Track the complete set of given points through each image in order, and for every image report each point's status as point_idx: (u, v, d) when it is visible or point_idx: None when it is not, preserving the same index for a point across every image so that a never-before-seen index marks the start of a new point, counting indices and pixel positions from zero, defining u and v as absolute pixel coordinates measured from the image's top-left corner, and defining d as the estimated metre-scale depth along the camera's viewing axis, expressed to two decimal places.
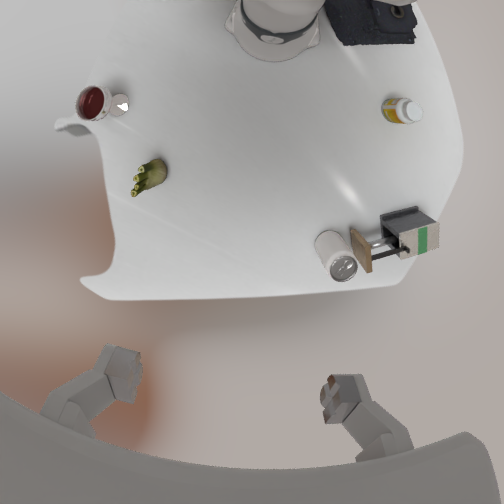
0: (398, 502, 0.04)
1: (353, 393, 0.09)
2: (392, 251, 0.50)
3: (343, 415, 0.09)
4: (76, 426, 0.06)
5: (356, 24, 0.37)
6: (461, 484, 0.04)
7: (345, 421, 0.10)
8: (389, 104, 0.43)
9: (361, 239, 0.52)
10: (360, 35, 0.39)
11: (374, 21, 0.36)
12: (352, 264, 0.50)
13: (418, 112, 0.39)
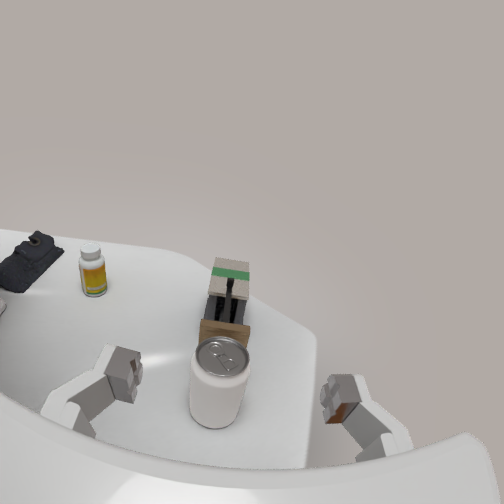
0: (398, 502, 0.04)
1: (353, 393, 0.09)
2: (226, 299, 0.37)
3: (343, 415, 0.09)
4: (76, 426, 0.06)
5: (17, 270, 0.42)
6: (461, 484, 0.04)
7: (345, 421, 0.10)
8: (81, 278, 0.45)
9: None
10: (27, 276, 0.44)
11: (26, 259, 0.46)
12: (220, 343, 0.29)
13: (93, 245, 0.45)
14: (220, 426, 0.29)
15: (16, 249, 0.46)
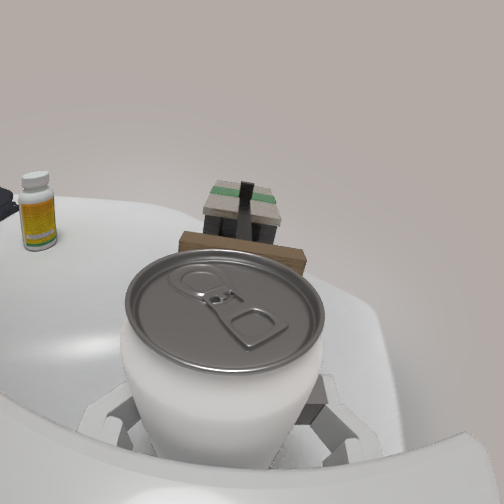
0: (398, 502, 0.04)
1: (319, 394, 0.09)
2: (240, 211, 0.18)
3: (310, 416, 0.09)
4: (119, 441, 0.06)
5: None
6: (461, 484, 0.04)
7: (313, 423, 0.09)
8: (21, 222, 0.25)
9: None
10: None
11: None
12: (220, 268, 0.09)
13: (40, 173, 0.26)
14: None
15: None
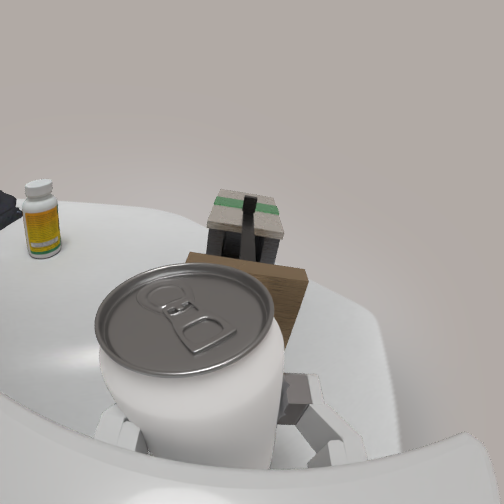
0: (398, 502, 0.04)
1: (303, 394, 0.09)
2: (244, 227, 0.18)
3: (294, 416, 0.09)
4: (137, 446, 0.06)
5: None
6: (461, 484, 0.04)
7: (298, 423, 0.09)
8: (25, 230, 0.26)
9: None
10: None
11: None
12: (184, 281, 0.10)
13: (43, 181, 0.26)
14: None
15: None
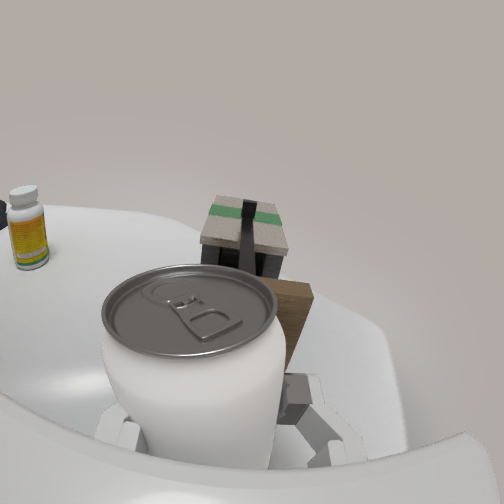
0: (398, 502, 0.04)
1: (303, 394, 0.09)
2: (243, 234, 0.17)
3: (294, 416, 0.09)
4: (137, 446, 0.06)
5: None
6: (461, 484, 0.04)
7: (298, 423, 0.09)
8: None
9: None
10: None
11: None
12: (188, 280, 0.10)
13: (28, 187, 0.23)
14: None
15: None
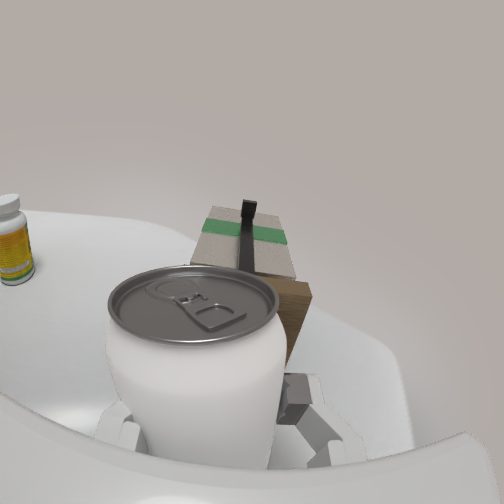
0: (398, 502, 0.04)
1: (303, 394, 0.09)
2: (242, 234, 0.17)
3: (294, 416, 0.09)
4: (137, 446, 0.06)
5: None
6: (461, 484, 0.04)
7: (298, 423, 0.09)
8: None
9: None
10: None
11: None
12: (190, 280, 0.11)
13: (10, 197, 0.20)
14: None
15: None
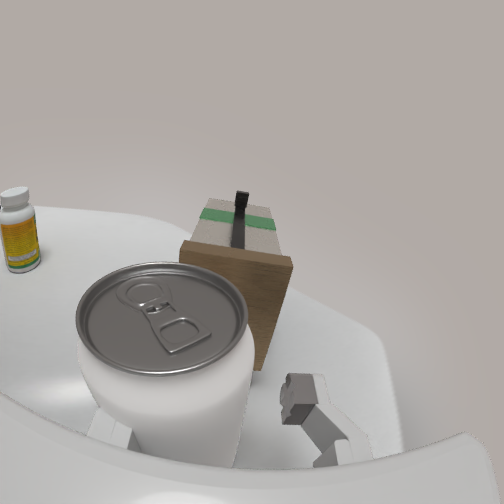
0: (398, 502, 0.04)
1: (309, 394, 0.09)
2: (235, 219, 0.20)
3: (300, 416, 0.09)
4: (129, 444, 0.06)
5: None
6: (461, 484, 0.04)
7: (304, 423, 0.09)
8: (2, 243, 0.22)
9: None
10: None
11: None
12: (163, 280, 0.10)
13: (19, 189, 0.22)
14: None
15: None
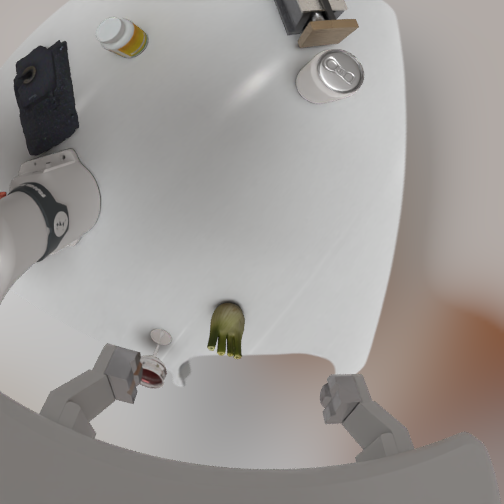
0: (398, 502, 0.04)
1: (353, 393, 0.09)
2: None
3: (343, 415, 0.09)
4: (76, 426, 0.06)
5: (50, 118, 0.33)
6: (461, 484, 0.04)
7: (345, 421, 0.10)
8: (119, 54, 0.29)
9: (305, 34, 0.25)
10: (64, 109, 0.34)
11: (44, 98, 0.31)
12: (333, 57, 0.24)
13: (108, 23, 0.22)
14: None
15: (24, 105, 0.30)
